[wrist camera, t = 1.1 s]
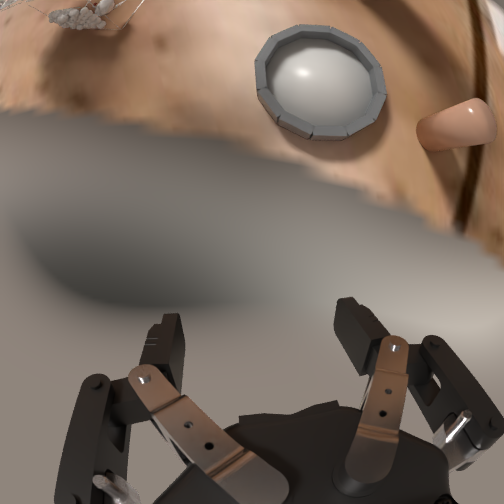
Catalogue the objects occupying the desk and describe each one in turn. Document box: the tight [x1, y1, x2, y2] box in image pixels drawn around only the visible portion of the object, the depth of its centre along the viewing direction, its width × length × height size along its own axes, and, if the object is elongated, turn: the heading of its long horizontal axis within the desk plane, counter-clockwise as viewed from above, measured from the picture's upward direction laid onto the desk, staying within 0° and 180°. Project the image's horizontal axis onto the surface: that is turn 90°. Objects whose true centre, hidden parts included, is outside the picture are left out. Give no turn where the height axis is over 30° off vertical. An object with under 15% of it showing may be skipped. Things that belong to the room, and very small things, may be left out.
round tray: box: [254, 24, 387, 141], centre depth 28 cm, size 16×16×3 cm
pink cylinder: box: [416, 98, 497, 152], centre depth 23 cm, size 5×5×12 cm
